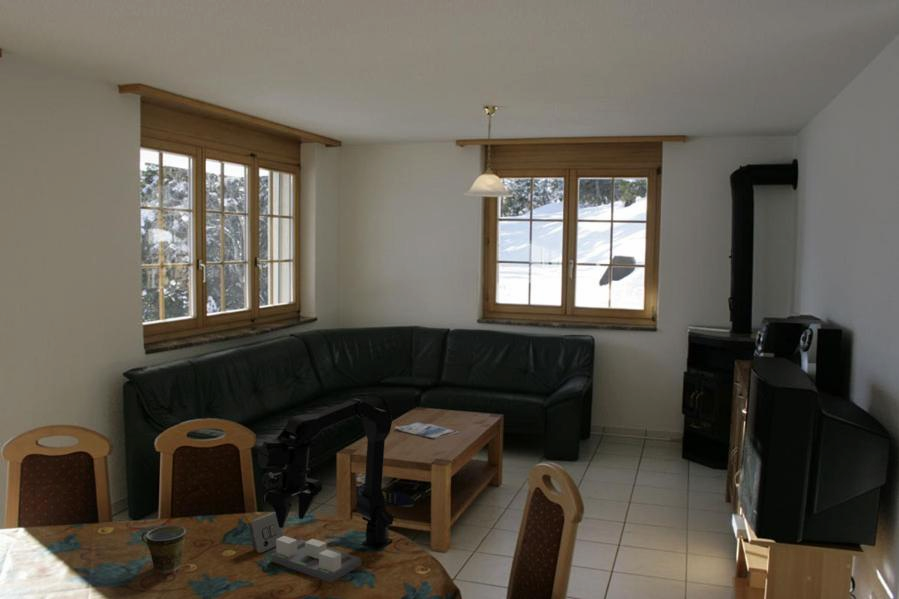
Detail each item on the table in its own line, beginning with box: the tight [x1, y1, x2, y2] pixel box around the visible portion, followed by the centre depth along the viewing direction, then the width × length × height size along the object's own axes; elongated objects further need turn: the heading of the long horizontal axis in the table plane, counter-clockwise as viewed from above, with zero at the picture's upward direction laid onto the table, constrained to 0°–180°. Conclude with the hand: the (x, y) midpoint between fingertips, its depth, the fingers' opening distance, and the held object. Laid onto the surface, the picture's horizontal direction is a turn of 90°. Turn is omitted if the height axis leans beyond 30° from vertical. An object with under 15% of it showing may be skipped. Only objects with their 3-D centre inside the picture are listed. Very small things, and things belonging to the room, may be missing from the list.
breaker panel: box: [270, 535, 362, 583], centre depth 208 cm, size 12×22×6 cm, turn 56°
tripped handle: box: [305, 538, 327, 559], centre depth 208 cm, size 3×5×4 cm, turn 56°
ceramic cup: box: [141, 525, 187, 575], centre depth 205 cm, size 13×10×10 cm
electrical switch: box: [248, 511, 285, 554], centre depth 219 cm, size 9×5×9 cm, turn 141°
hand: (291, 523), depth 203 cm, fingers open, 9 cm apart
